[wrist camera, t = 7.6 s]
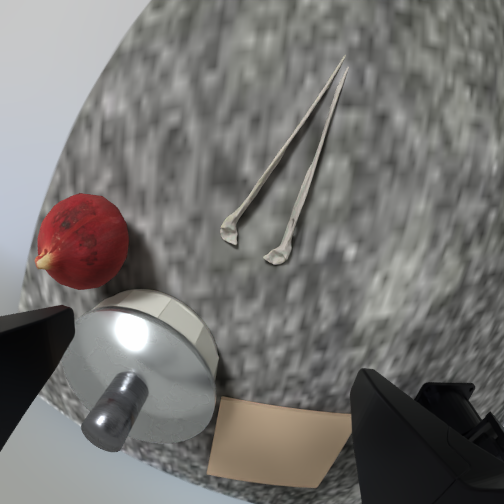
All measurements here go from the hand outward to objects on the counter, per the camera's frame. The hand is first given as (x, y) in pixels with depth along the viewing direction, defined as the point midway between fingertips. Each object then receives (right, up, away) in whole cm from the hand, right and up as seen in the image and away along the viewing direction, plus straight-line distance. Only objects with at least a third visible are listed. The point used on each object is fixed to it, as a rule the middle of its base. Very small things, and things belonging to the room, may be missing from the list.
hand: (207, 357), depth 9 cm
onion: (-9, +5, +13) cm, 16 cm away
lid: (-7, -6, +11) cm, 14 cm away
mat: (+4, -16, +17) cm, 23 cm away
